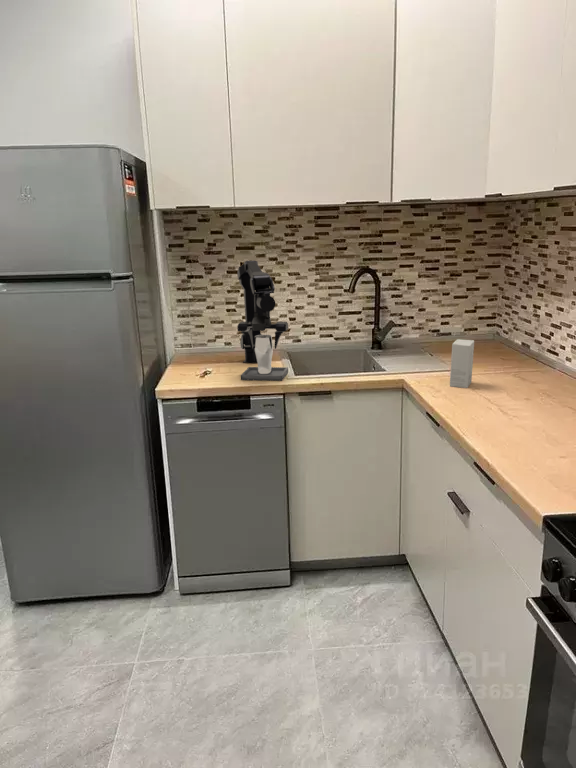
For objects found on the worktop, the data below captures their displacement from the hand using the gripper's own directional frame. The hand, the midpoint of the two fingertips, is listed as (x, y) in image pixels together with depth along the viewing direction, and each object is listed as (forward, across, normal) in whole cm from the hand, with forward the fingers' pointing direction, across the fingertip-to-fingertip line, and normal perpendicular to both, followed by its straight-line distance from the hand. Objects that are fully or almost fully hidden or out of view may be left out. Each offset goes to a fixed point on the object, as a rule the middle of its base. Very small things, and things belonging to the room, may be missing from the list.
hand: (263, 348), depth 226 cm
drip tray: (+11, 0, 0) cm, 11 cm away
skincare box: (+11, +73, -7) cm, 74 cm away
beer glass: (+10, 0, 0) cm, 10 cm away
